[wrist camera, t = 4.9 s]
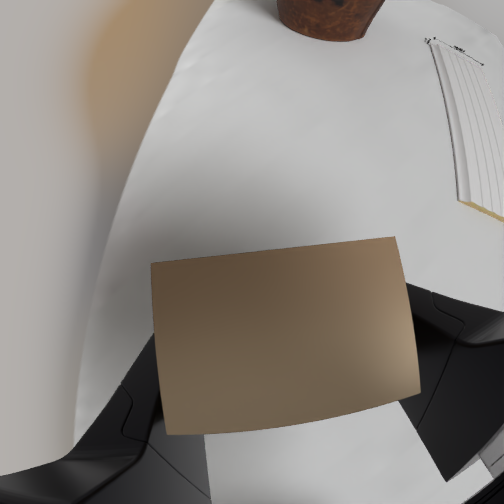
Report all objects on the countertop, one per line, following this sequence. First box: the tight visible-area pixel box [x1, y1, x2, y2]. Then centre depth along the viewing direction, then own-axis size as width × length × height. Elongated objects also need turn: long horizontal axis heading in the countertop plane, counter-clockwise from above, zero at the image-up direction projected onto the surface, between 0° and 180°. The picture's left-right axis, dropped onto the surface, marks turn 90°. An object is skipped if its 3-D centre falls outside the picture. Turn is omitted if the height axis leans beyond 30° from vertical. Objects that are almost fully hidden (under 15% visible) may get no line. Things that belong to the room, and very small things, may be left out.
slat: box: [151, 236, 421, 435], centre depth 10 cm, size 3×4×11 cm, turn 97°
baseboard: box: [425, 37, 504, 222], centre depth 29 cm, size 31×3×12 cm
